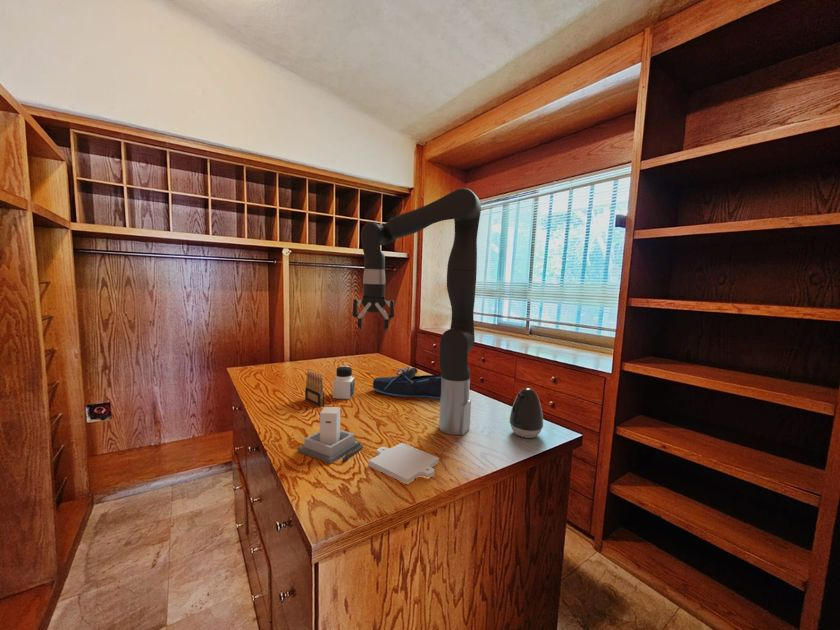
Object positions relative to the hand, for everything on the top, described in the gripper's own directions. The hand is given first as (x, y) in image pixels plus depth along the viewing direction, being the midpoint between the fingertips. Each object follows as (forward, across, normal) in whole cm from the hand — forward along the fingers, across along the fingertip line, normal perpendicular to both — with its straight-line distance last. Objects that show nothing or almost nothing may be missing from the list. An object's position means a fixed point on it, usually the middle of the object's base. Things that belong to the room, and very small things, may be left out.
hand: (373, 329), depth 120 cm
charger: (+29, -8, -26) cm, 40 cm away
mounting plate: (+31, +13, -34) cm, 48 cm away
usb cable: (+30, -1, -29) cm, 42 cm away
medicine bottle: (+30, -13, +17) cm, 37 cm away
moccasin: (+31, +15, +22) cm, 41 cm away
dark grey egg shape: (+30, +51, -14) cm, 61 cm away
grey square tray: (+30, -8, -26) cm, 41 cm away
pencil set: (+30, -23, +8) cm, 39 cm away
